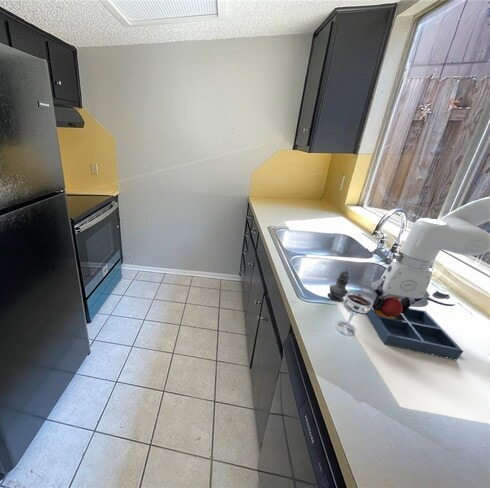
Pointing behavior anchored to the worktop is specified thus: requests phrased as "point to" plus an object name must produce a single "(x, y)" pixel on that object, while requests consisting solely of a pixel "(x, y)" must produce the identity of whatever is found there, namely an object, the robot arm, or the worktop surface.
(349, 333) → the wineglass
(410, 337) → the grid
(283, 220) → the worktop surface
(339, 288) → the dark grey statuette
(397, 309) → the onion
